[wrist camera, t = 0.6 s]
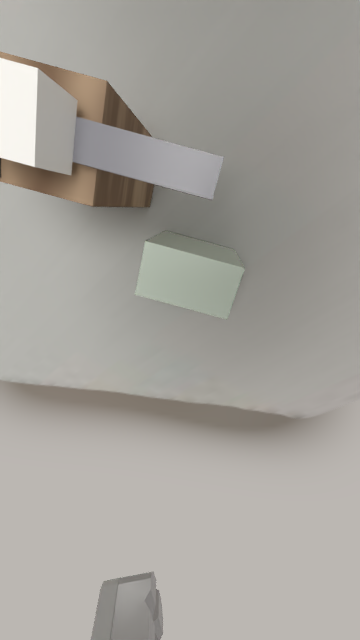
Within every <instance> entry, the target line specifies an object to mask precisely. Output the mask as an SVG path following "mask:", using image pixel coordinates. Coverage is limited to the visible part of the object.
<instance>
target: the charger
mask: <svg viewBox="0 0 360 640" xmlns="http://www.w3.org/2000/svg"><path fill="white" fill-rule="evenodd" d="M76 113H77V100H76V99H75V98H74V97H73V96H72V95H70V94H69V93H68V92H67V91H65V90H64V89H63V88H62V87H60V86H59V85H58V84H57V83H56V82H54V81H53V80H52V79H51V78H49V77H48V76H47V75H46V74H44V73H43V72H42V71H41V70H40V69H38V68H36V67H32V66H28V65H25V64H21V63H17V62H14V61H10V60H6V59H3V58H0V158H3V159H7V160H11V161H14V162H18V163H22V164H25V165H29V166H33V167H37V168H41V169H45V170H49V171H54V172H58V173H62V174H67V175H71V174H72V162H74V163H77V164H81V165H84V166H88V167H92V168H95V169H99V170H103V171H106V172H110V173H114V174H117V175H121V176H125V177H128V178H132V179H136V180H139V181H143V182H147V183H150V184H154V185H158V186H161V187H165V188H169V189H172V190H176V191H180V192H183V193H187V194H191V195H194V196H198V197H202V198H205V199H209V200H212V199H213V196H214V192H215V188H216V185H217V181H218V177H219V174H220V170H221V166H222V163H223V159H224V157H222V156H219V155H215V154H211V153H208V152H204V151H200V150H197V149H193V148H189V147H186V146H182V145H178V144H175V143H171V142H167V141H164V140H160V139H156V138H153V137H149V136H145V135H142V134H138V133H134V132H131V131H127V130H123V129H120V128H116V127H112V126H109V125H105V124H102V123H98V122H94V121H91V120H87V119H83V118H80V117H76Z"/></svg>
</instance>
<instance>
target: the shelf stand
mask: <svg viewBox="0 0 360 640" xmlns="http://www.w3.org/2000/svg"><path fill="white" fill-rule="evenodd" d="M0 58H3V59H6V60H10V61H14V62H17V63H21V64H25V65H28V66H32V67H36V68H38V69H40V70H41V71H42V72H43V73H44V74H46V75H47V76H48V77H49V78H51V79H52V80H53V81H54V82H56V83H57V84H58V85H59V86H60V87H62V88H63V89H64V90H65V91H67V92H68V93H69V94H70V95H72V96H73V97H74V98H75V99H76V100H77V113H76V117H80V118H83V119H87V120H91V121H94V122H98V123H102V124H105V125H109V126H112V127H116V128H120V129H123V130H127V131H131V132H134V133H138V134H142V135H145V136H149V137H152V136H151V135H150V134H149V132H148V131H147V130H146V129H145V127H144V126H143V125H142V124H141V122H140V121H139V120H138V119H137V118H136V116H135V115H134V114H133V113H132V111H131V110H130V109H129V108H128V106H127V105H126V104H125V103H124V101H123V100H122V99H121V98H120V96H119V95H118V94H117V93H116V92H115V90H114V89H113V88H112V87H111V85H110V84H109V83H108V82H107V81H105V80H102V79H98V78H95V77H91V76H87V75H84V74H80V73H76V72H73V71H69V70H65V69H62V68H58V67H54V66H51V65H47V64H43V63H40V62H36V61H32V60H29V59H25V58H21V57H18V56H14V55H10V54H7V53H3V52H0ZM0 181H1V182H4V183H8V184H12V185H15V186H19V187H23V188H26V189H30V190H34V191H38V192H41V193H45V194H49V195H52V196H56V197H60V198H63V199H67V200H71V201H74V202H78V203H82V204H85V205H89V206H93V207H150V203H151V198H152V193H153V188H154V184H150V183H147V182H143V181H139V180H136V179H132V178H128V177H125V176H121V175H117V174H114V173H110V172H106V171H103V170H99V169H95V168H92V167H88V166H84V165H81V164H77V163H74V162H72V174H71V175H67V174H62V173H58V172H54V171H49V170H45V169H41V168H37V167H33V166H29V165H25V164H22V163H18V162H14V161H11V160H7V159H3V158H0Z"/></svg>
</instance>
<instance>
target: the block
mask: <svg viewBox="0 0 360 640" xmlns="http://www.w3.org/2000/svg"><path fill="white" fill-rule="evenodd" d="M244 270H245V267H244V266H243V264H242V262H241V260H240V259H239V257H238V255H237V254H236V252H235V250H234V249H231V248H227V247H224V246H220V245H216V244H213V243H209V242H205V241H202V240H198V239H194V238H191V237H187V236H183V235H180V234H176V233H172V232H169V231H164V232H162V233H160V234H158V235H156V236H154V237H152V238H150V239H148V240H146V241H145V244H144V250H143V255H142V260H141V265H140V270H139V275H138V281H137V286H136V291H135V295H138V296H142V297H145V298H149V299H153V300H156V301H160V302H164V303H167V304H171V305H175V306H178V307H182V308H186V309H189V310H193V311H197V312H200V313H204V314H208V315H212V316H215V317H219V318H223V319H226V320H227V319H228V316H229V313H230V310H231V307H232V304H233V301H234V299H235V296H236V293H237V290H238V287H239V284H240V281H241V278H242V276H243V273H244Z"/></svg>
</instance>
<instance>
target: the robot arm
mask: <svg viewBox="0 0 360 640" xmlns="http://www.w3.org/2000/svg"><path fill="white" fill-rule="evenodd" d="M162 634H163V617H162V604H161V598H160V593H159V590H157V589H156V578H155V576H154V572H149V573H144V574H138V575H133V576H128V577H123V578H116V579H112V580H107V581H104V582H103V584H102V587H101V589H100V594H99V600H98V605H97V611H96V616H95V621H94V627H93V631H92V637H91V640H160V639H161V636H162Z"/></svg>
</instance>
